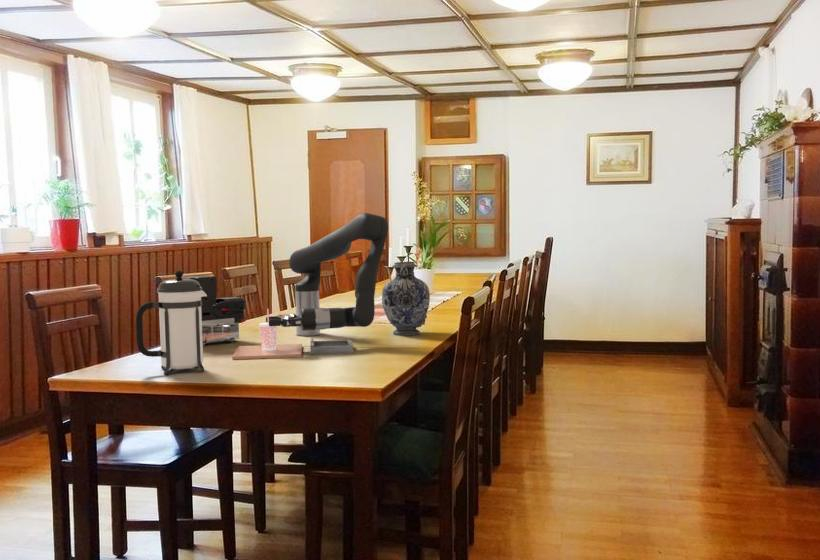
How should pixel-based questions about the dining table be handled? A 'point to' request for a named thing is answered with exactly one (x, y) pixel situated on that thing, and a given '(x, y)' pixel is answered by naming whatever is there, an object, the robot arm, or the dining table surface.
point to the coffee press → (176, 324)
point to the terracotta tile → (268, 352)
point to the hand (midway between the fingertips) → (267, 321)
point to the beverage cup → (268, 335)
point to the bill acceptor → (219, 312)
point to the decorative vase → (406, 300)
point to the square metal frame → (330, 347)
